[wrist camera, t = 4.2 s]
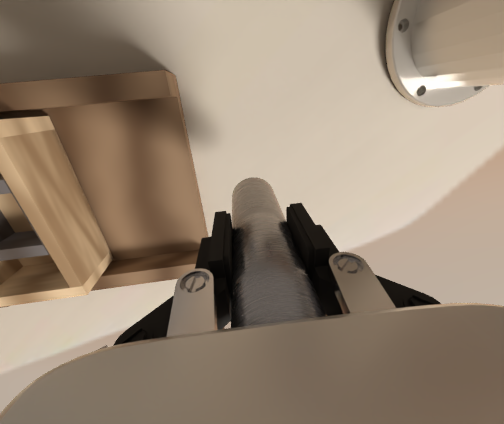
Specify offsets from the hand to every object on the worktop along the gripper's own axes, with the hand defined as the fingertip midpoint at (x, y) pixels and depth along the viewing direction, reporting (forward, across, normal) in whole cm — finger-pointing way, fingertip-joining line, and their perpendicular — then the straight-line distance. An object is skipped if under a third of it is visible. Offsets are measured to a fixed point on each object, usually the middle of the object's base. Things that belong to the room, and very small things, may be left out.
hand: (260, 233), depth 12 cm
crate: (+10, +20, +1) cm, 22 cm away
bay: (+11, +16, +1) cm, 19 cm away
